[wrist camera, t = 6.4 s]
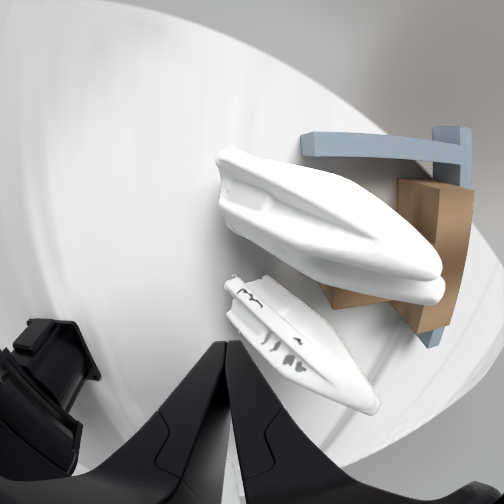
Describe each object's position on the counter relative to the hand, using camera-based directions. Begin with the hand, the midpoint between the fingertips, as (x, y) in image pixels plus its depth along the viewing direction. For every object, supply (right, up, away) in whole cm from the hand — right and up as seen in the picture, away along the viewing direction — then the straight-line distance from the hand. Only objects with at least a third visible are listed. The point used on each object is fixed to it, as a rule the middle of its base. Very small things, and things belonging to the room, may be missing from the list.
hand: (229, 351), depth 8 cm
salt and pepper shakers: (0, +3, +8) cm, 8 cm away
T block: (+9, +4, +9) cm, 13 cm away
